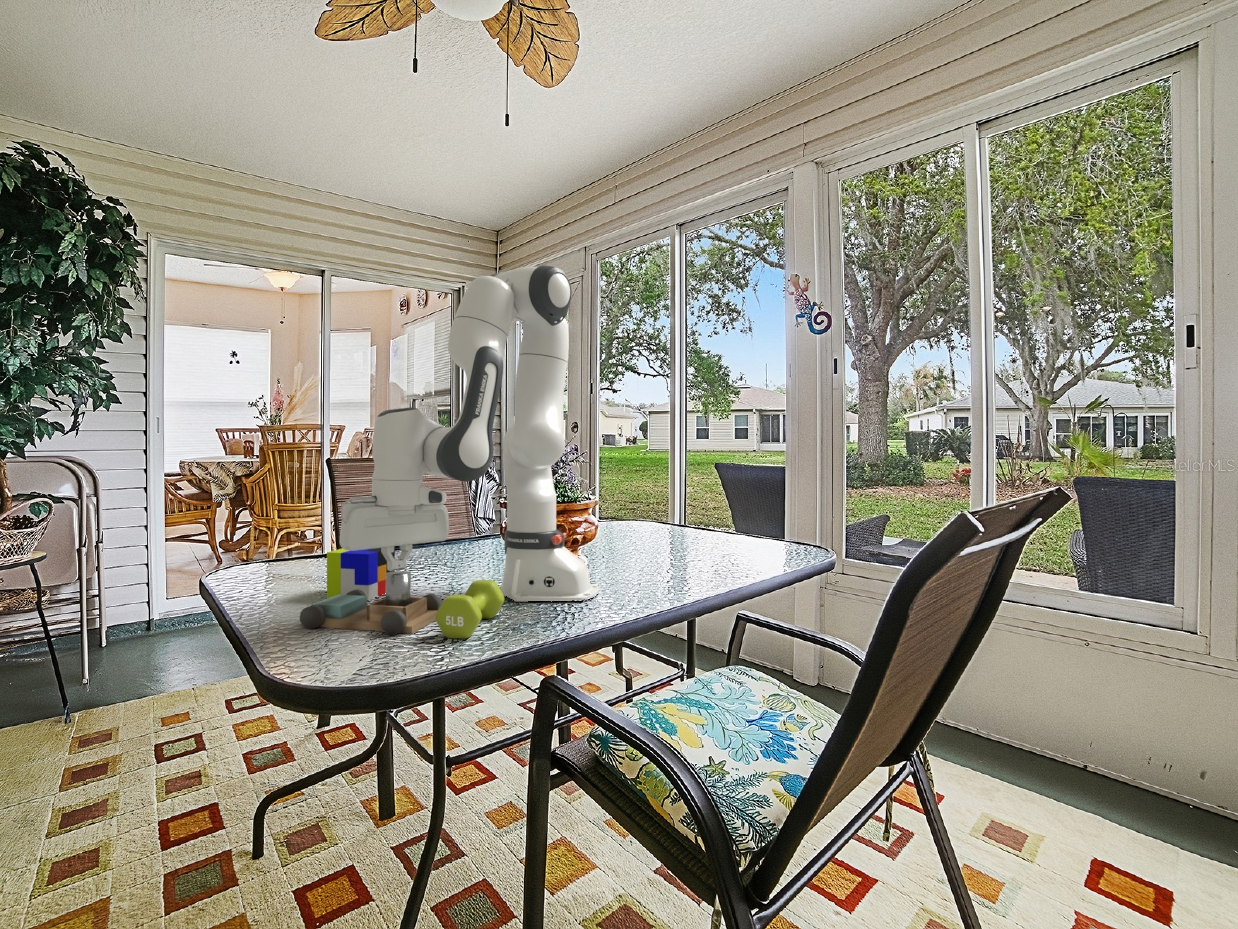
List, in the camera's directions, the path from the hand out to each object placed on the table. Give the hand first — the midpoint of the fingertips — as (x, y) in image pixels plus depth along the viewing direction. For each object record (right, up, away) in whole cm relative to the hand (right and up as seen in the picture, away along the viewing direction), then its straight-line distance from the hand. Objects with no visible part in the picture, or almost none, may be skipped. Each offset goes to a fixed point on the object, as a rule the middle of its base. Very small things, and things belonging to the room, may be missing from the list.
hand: (396, 569), depth 115 cm
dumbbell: (+14, -11, -1) cm, 18 cm away
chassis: (-5, -10, +1) cm, 11 cm away
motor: (0, -9, 0) cm, 9 cm away
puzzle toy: (-16, -10, +23) cm, 30 cm away
